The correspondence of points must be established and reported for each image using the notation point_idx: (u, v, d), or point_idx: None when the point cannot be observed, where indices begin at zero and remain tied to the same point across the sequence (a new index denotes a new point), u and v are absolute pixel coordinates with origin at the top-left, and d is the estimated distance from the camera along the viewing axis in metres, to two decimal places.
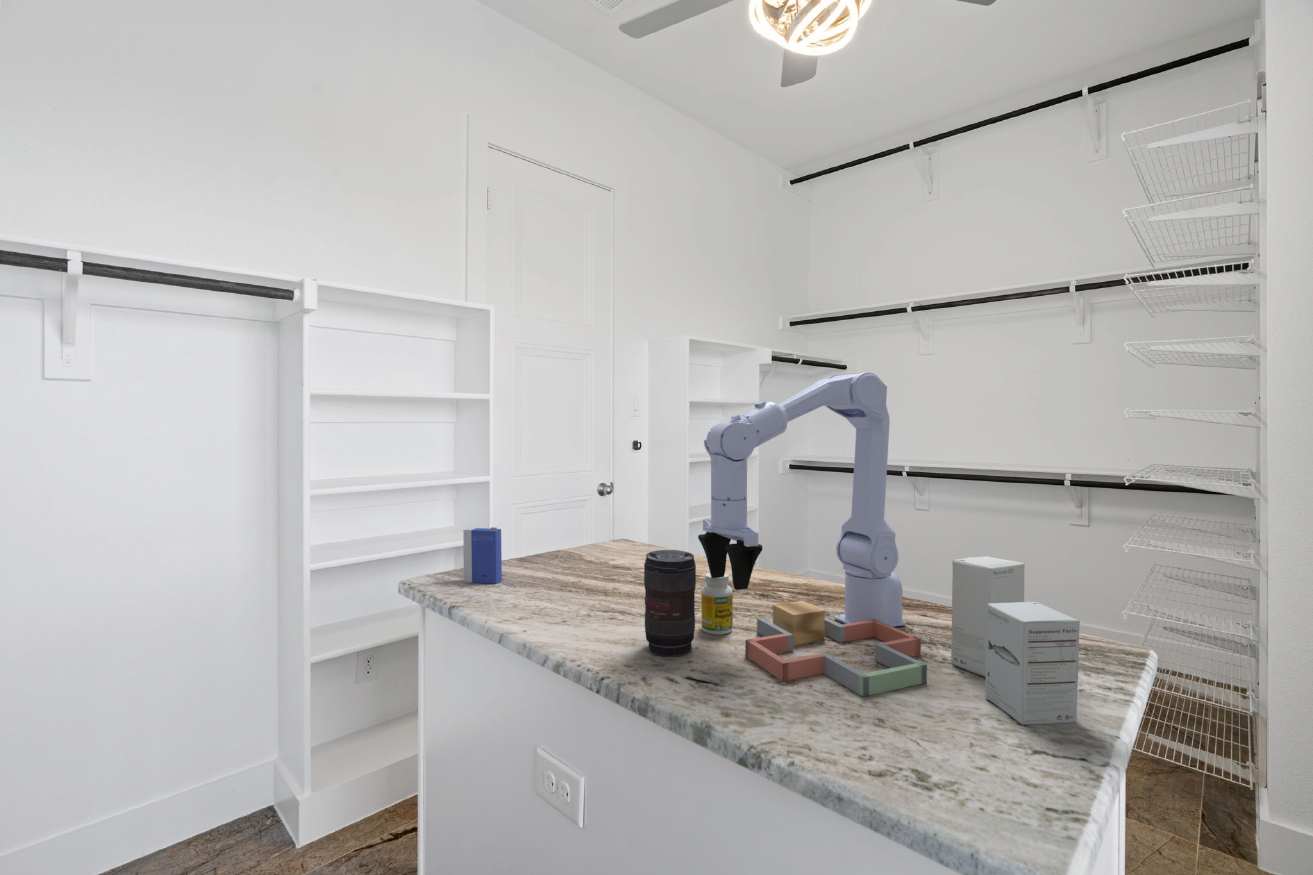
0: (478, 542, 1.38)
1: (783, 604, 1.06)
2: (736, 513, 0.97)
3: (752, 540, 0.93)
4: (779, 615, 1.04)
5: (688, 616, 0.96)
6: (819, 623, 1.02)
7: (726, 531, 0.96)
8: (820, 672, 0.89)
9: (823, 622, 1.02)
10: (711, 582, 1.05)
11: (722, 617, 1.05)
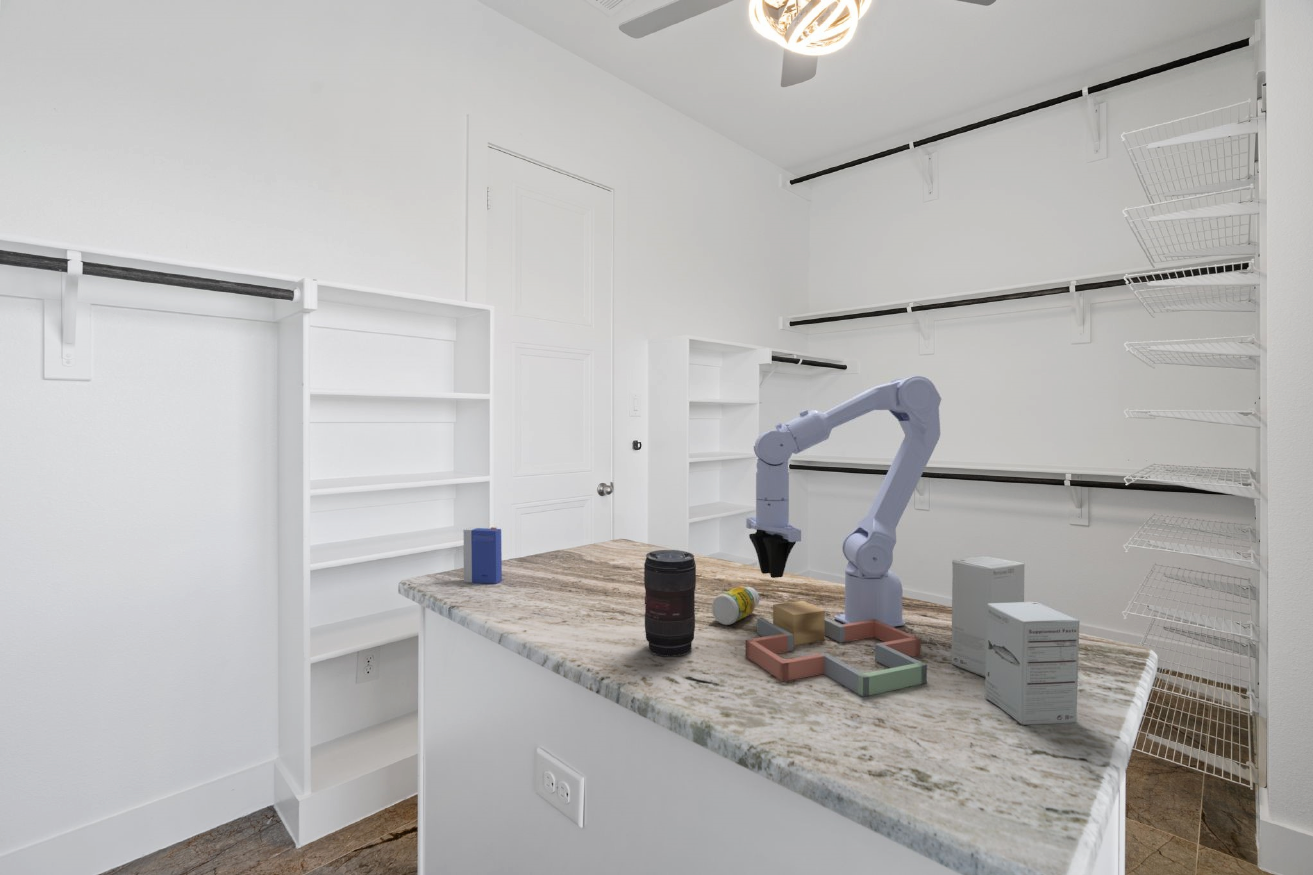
0: (478, 542, 1.38)
1: (783, 604, 1.06)
2: (780, 512, 1.08)
3: (796, 536, 1.04)
4: (779, 615, 1.04)
5: (688, 616, 0.96)
6: (819, 623, 1.02)
7: (771, 528, 1.07)
8: (820, 672, 0.89)
9: (823, 622, 1.02)
10: (748, 587, 1.17)
11: (741, 598, 1.11)
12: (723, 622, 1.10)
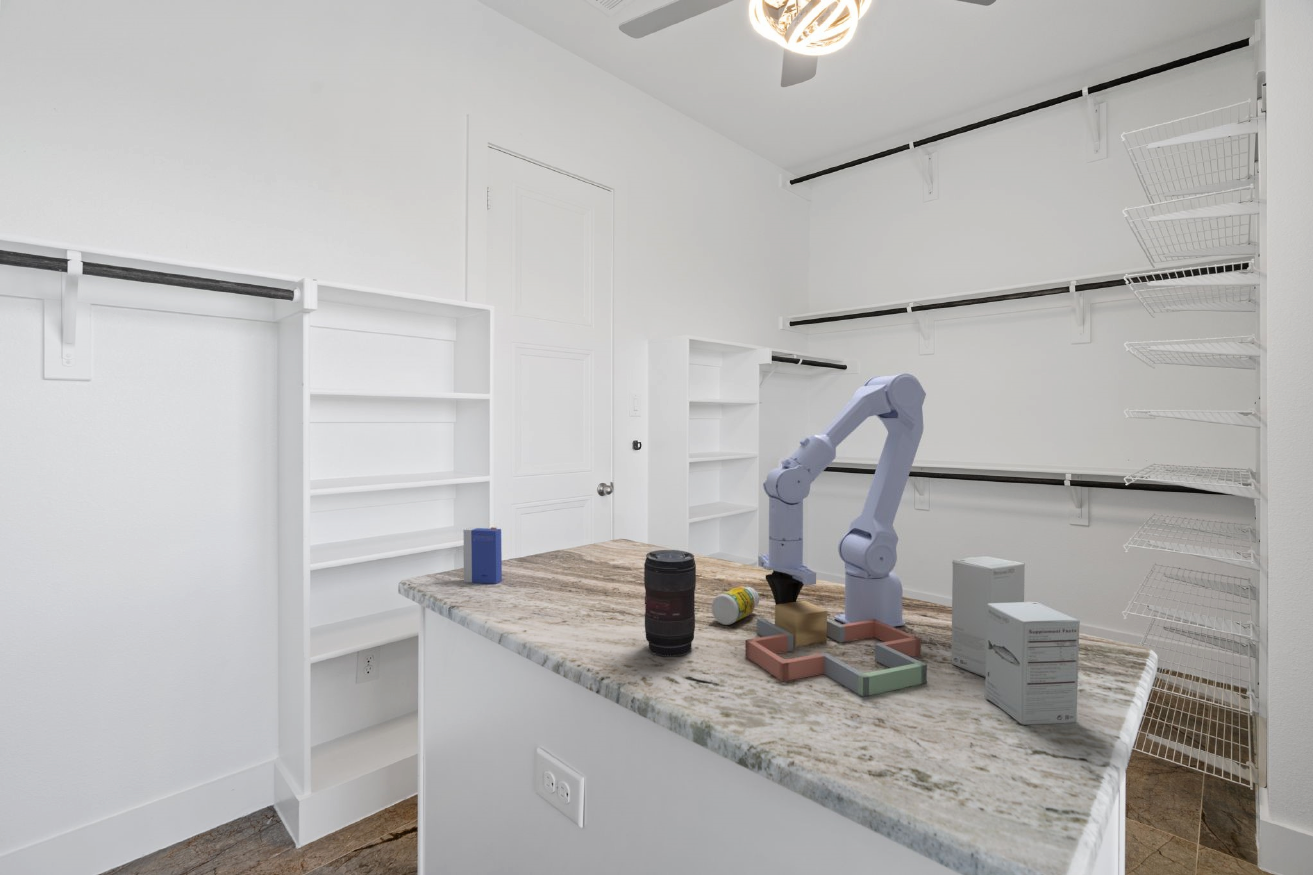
0: (478, 542, 1.38)
1: (785, 604, 1.05)
2: (794, 552, 1.05)
3: (811, 579, 1.01)
4: (781, 615, 1.04)
5: (688, 616, 0.96)
6: (821, 623, 1.02)
7: (785, 569, 1.04)
8: (820, 672, 0.89)
9: (825, 622, 1.02)
10: (747, 587, 1.17)
11: (741, 597, 1.11)
12: (723, 622, 1.10)
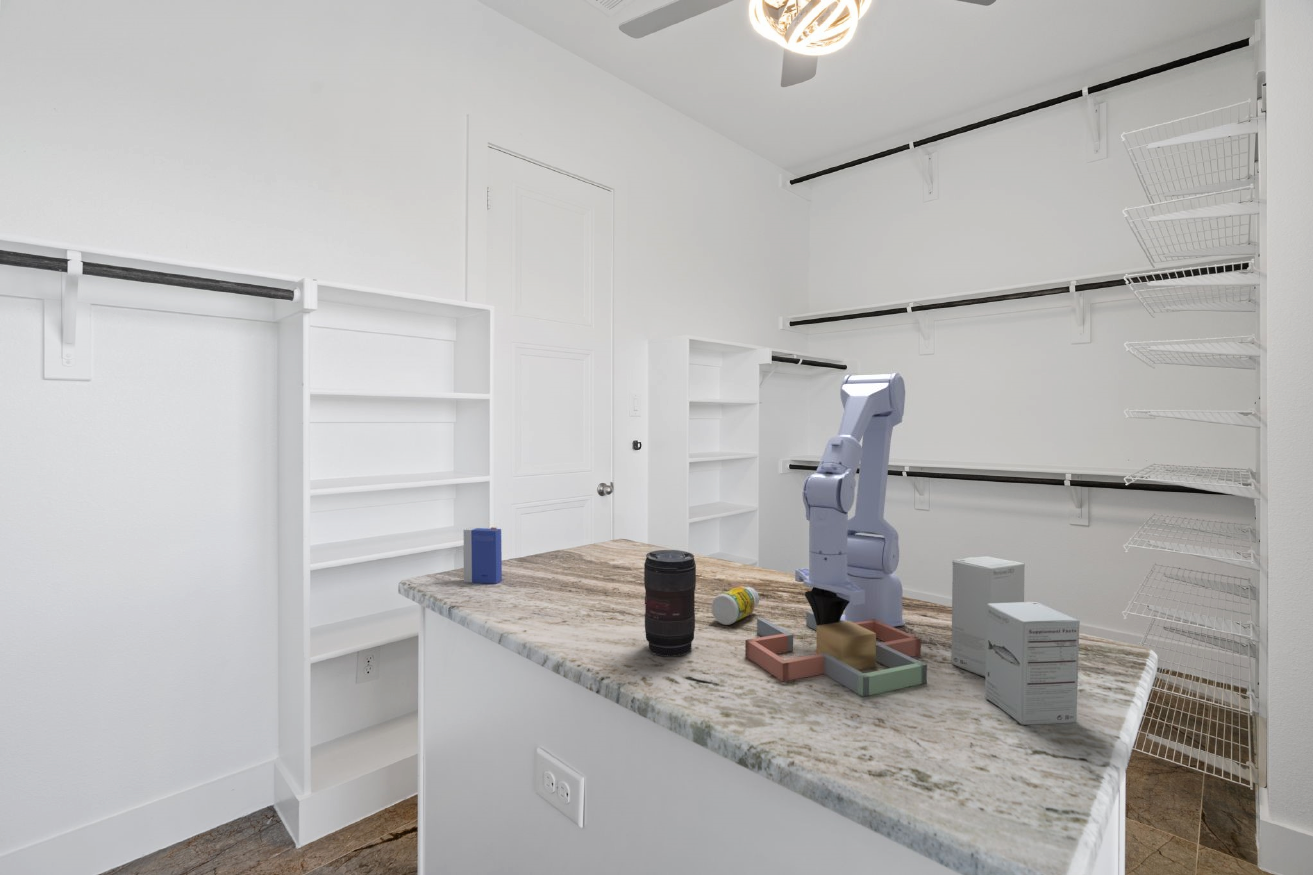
0: (478, 542, 1.38)
1: (828, 625, 0.95)
2: (838, 568, 0.94)
3: (859, 598, 0.90)
4: (824, 638, 0.93)
5: (688, 616, 0.96)
6: (870, 647, 0.91)
7: (828, 587, 0.93)
8: (820, 672, 0.89)
9: (874, 646, 0.91)
10: (747, 587, 1.17)
11: (741, 597, 1.11)
12: (723, 622, 1.10)
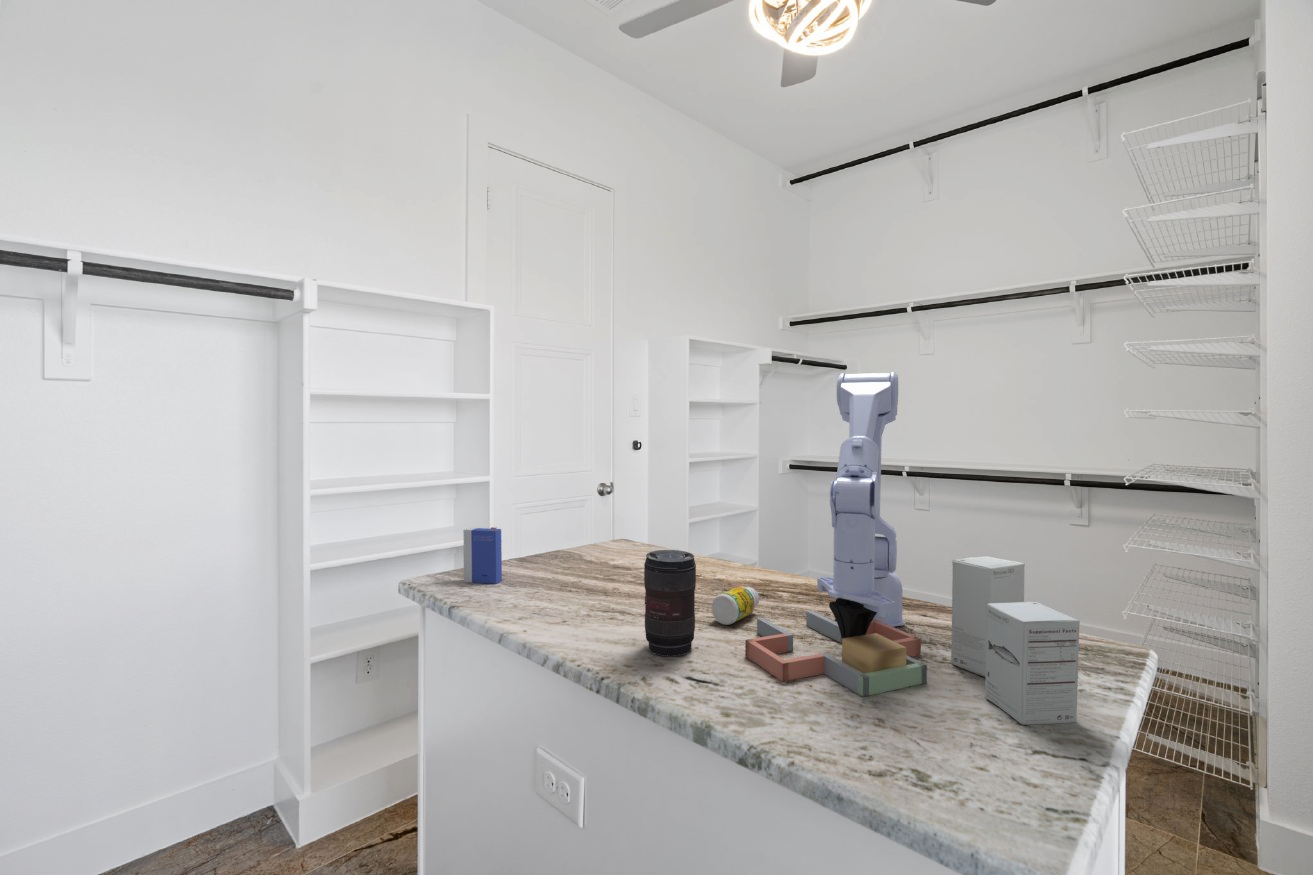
0: (478, 542, 1.38)
1: (854, 638, 0.89)
2: (865, 577, 0.89)
3: (889, 610, 0.85)
4: (850, 652, 0.88)
5: (688, 616, 0.96)
6: (900, 662, 0.86)
7: (855, 597, 0.88)
8: (820, 672, 0.89)
9: (904, 661, 0.86)
10: (747, 587, 1.17)
11: (741, 597, 1.11)
12: (723, 622, 1.10)
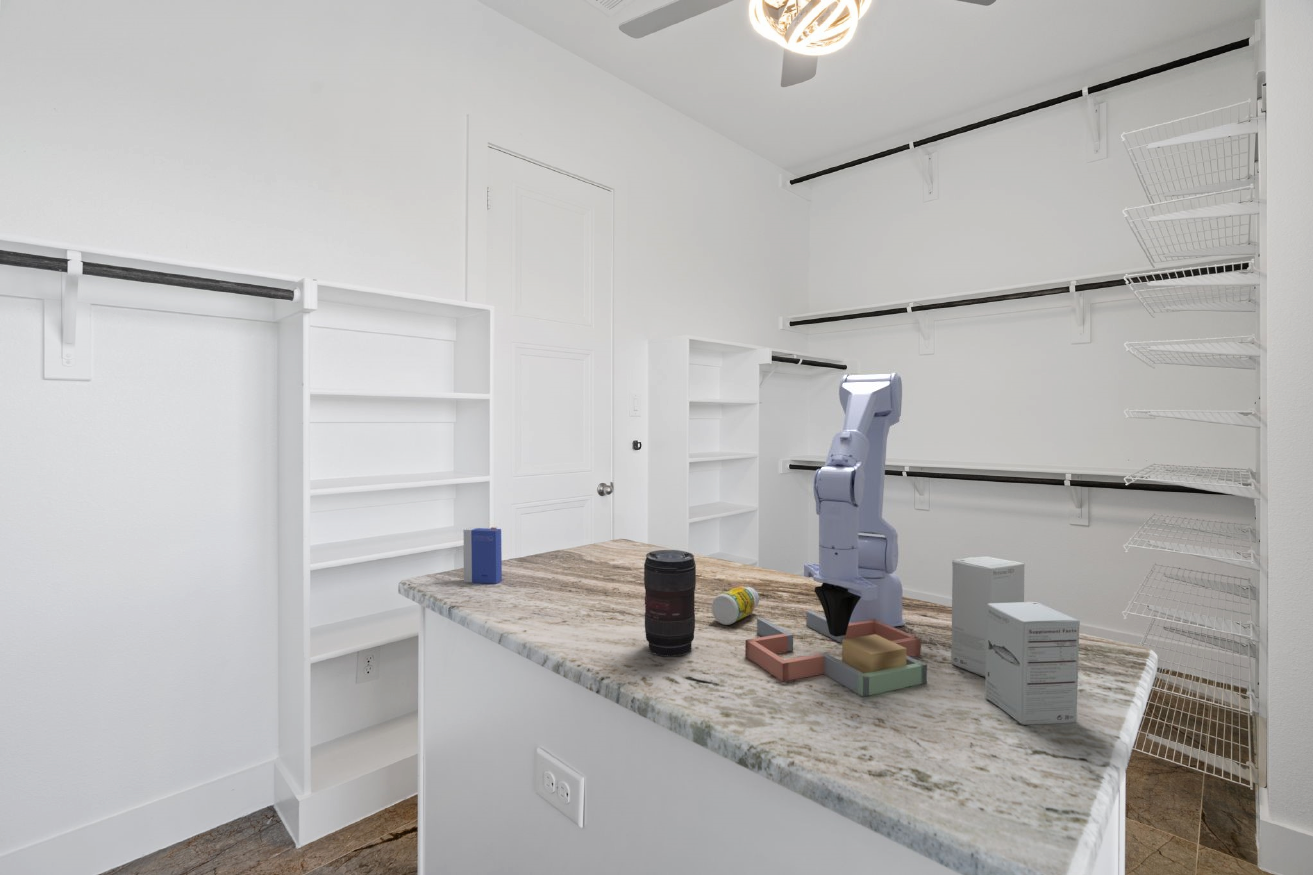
0: (478, 542, 1.38)
1: (854, 639, 0.89)
2: (849, 562, 0.92)
3: (871, 593, 0.88)
4: (850, 653, 0.88)
5: (688, 616, 0.96)
6: (900, 663, 0.86)
7: (839, 582, 0.91)
8: (820, 672, 0.89)
9: (904, 662, 0.86)
10: (747, 587, 1.17)
11: (741, 597, 1.11)
12: (723, 622, 1.10)
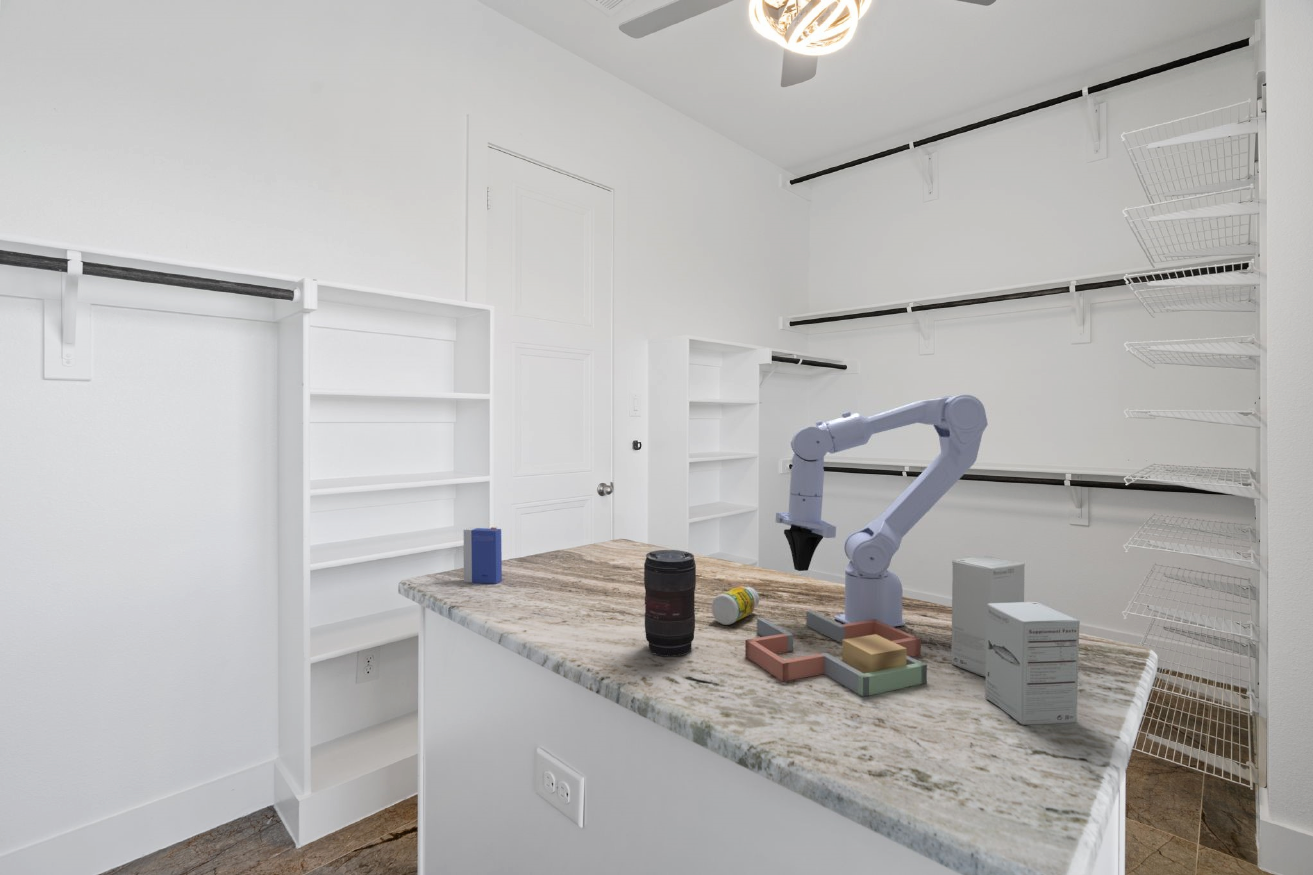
0: (478, 542, 1.38)
1: (854, 639, 0.89)
2: (814, 508, 1.09)
3: (831, 532, 1.05)
4: (850, 653, 0.87)
5: (688, 616, 0.96)
6: (900, 663, 0.86)
7: (805, 523, 1.08)
8: (820, 672, 0.89)
9: (905, 662, 0.86)
10: (747, 587, 1.17)
11: (741, 597, 1.11)
12: (723, 622, 1.10)
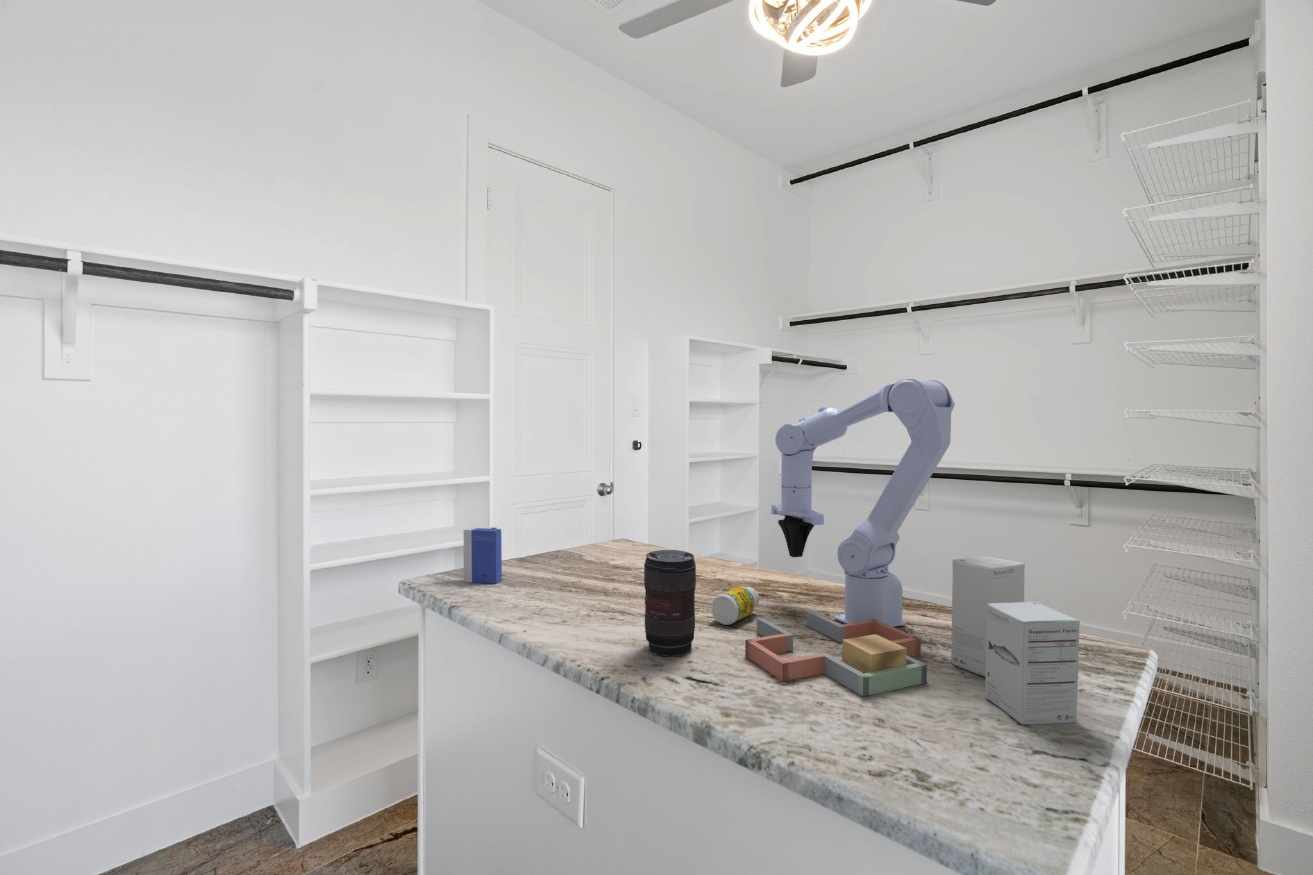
0: (478, 542, 1.38)
1: (854, 639, 0.89)
2: (804, 498, 1.19)
3: (819, 520, 1.15)
4: (851, 653, 0.87)
5: (688, 616, 0.96)
6: (900, 663, 0.86)
7: (796, 513, 1.18)
8: (820, 672, 0.89)
9: (905, 662, 0.86)
10: (747, 587, 1.17)
11: (741, 597, 1.11)
12: (723, 622, 1.10)
